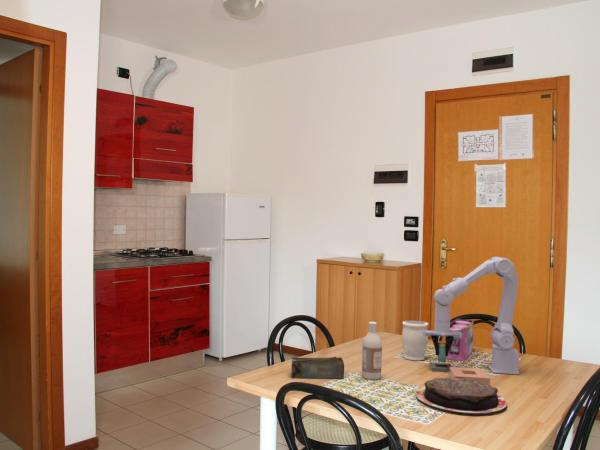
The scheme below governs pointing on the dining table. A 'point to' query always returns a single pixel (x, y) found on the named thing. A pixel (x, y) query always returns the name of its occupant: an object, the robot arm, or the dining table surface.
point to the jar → (414, 340)
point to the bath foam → (372, 354)
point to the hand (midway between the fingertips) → (441, 355)
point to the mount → (440, 367)
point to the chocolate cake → (461, 396)
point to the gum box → (461, 340)
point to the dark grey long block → (318, 368)
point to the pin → (441, 352)
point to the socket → (470, 374)
